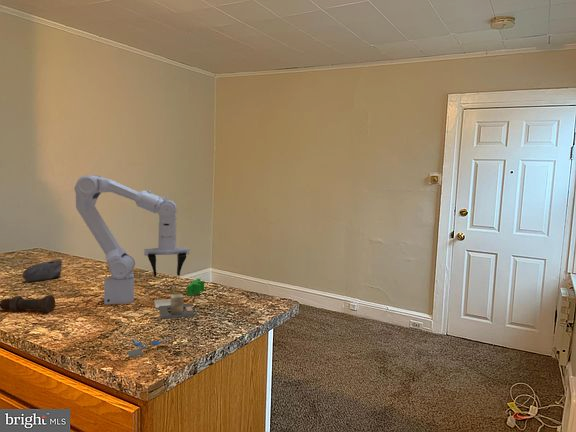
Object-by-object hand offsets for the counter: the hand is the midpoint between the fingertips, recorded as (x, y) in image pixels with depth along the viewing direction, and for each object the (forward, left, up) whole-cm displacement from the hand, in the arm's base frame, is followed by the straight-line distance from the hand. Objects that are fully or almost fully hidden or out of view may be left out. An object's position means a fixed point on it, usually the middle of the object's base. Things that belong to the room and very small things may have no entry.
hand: (166, 275), depth 143 cm
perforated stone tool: (-43, +40, -10) cm, 60 cm away
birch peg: (+2, -13, -10) cm, 16 cm away
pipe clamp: (+11, +8, -10) cm, 17 cm away
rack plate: (+2, -13, -9) cm, 16 cm away
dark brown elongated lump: (-42, +1, -10) cm, 43 cm away
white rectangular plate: (-1, -3, -9) cm, 10 cm away
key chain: (-9, -34, -10) cm, 36 cm away
